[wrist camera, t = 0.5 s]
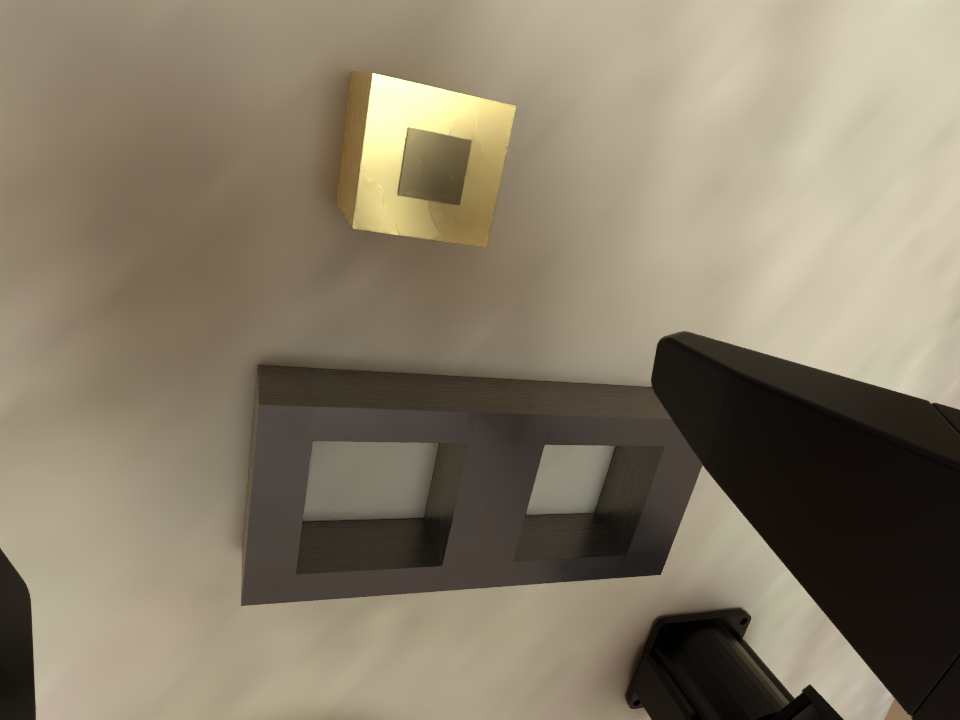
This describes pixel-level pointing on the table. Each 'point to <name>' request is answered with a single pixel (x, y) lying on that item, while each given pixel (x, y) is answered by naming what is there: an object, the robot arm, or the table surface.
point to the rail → (457, 484)
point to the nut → (421, 160)
